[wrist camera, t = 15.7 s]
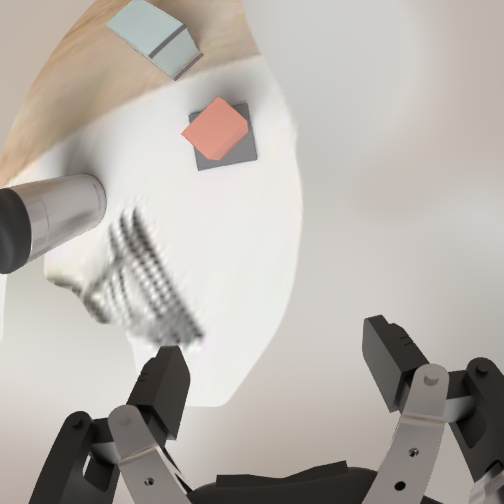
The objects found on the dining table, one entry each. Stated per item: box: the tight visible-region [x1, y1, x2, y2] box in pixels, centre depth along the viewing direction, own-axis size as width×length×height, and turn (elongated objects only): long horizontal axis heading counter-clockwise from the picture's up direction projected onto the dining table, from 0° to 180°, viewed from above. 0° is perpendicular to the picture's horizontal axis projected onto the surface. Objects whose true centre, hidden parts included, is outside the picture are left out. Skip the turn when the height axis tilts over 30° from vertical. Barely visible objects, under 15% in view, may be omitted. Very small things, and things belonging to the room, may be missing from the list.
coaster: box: [188, 104, 257, 171], centre depth 34 cm, size 8×8×1 cm
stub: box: [181, 96, 249, 160], centre depth 29 cm, size 4×6×9 cm
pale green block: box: [106, 0, 203, 81], centre depth 25 cm, size 11×6×9 cm, turn 45°
